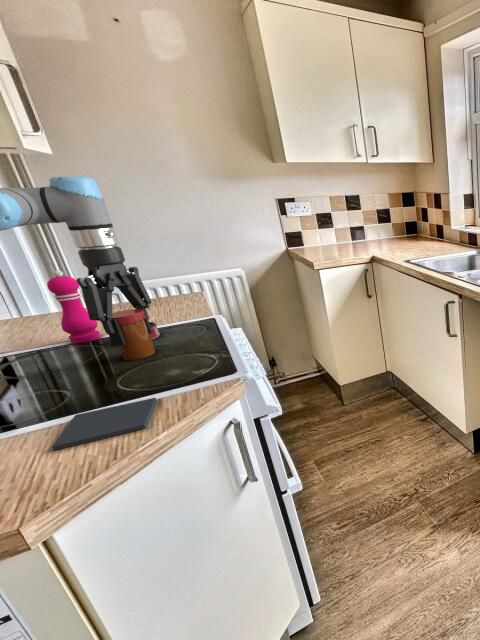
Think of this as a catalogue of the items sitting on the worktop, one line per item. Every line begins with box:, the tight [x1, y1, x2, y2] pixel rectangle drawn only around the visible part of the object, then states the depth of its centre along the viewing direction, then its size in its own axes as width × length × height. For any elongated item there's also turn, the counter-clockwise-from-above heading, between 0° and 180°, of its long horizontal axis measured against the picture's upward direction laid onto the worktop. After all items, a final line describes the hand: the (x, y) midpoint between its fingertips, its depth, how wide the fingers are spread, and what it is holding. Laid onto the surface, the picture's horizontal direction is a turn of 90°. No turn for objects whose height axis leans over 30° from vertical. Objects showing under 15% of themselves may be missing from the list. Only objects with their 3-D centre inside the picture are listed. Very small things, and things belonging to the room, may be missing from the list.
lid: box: [112, 308, 146, 325], centre depth 104 cm, size 7×7×2 cm
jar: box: [117, 319, 156, 361], centre depth 106 cm, size 6×6×11 cm
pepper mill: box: [46, 270, 102, 344], centre depth 117 cm, size 7×7×20 cm
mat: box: [51, 397, 158, 451], centre depth 77 cm, size 12×12×1 cm
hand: (133, 338), depth 106 cm, fingers closed on lid, 7 cm apart
